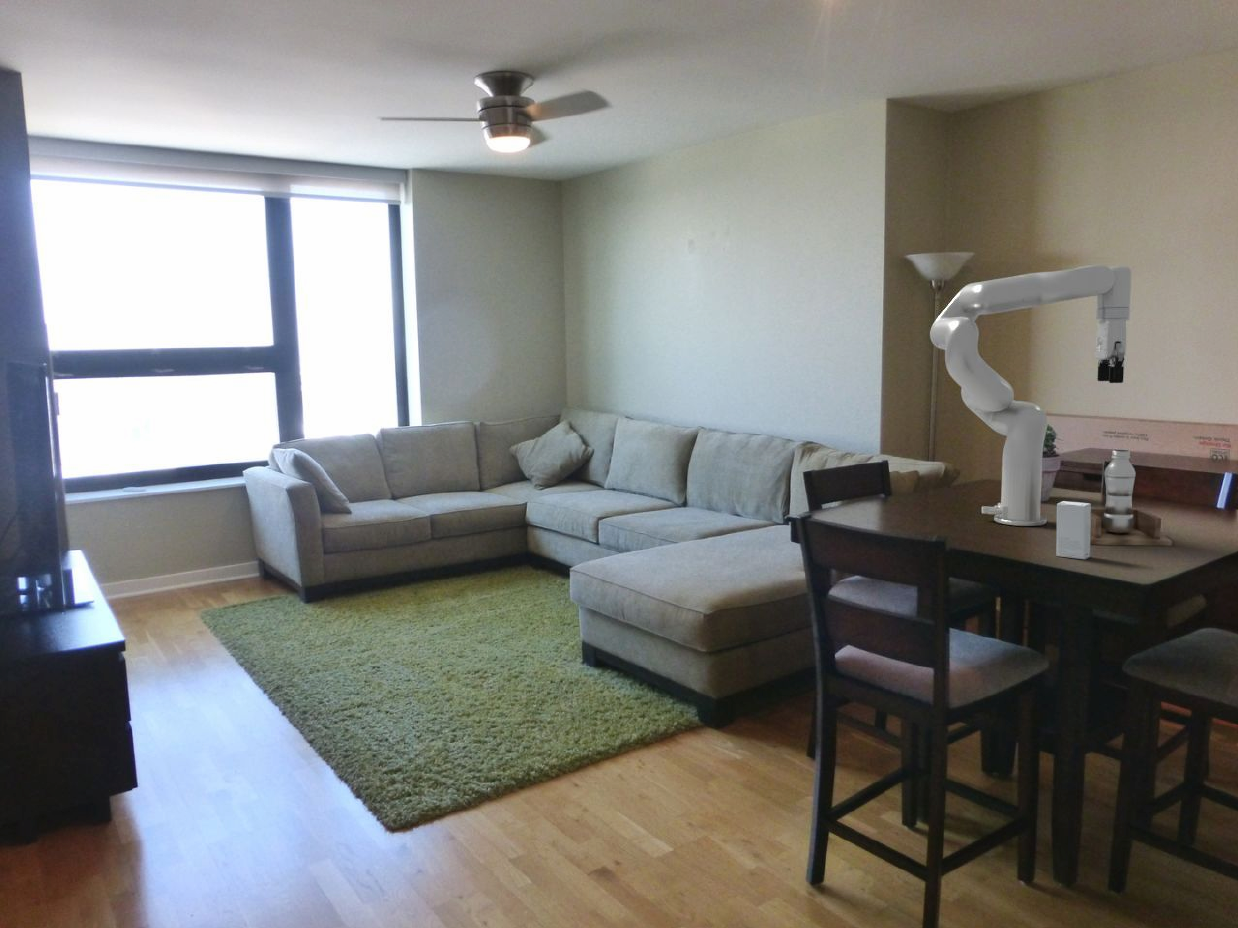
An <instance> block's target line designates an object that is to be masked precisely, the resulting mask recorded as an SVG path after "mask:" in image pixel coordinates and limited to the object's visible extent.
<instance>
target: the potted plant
mask: <svg viewBox="0 0 1238 928" xmlns="http://www.w3.org/2000/svg"><path fill="white" fill-rule="evenodd" d="M1052 431H1053V427H1052V426H1051V425H1050V424H1049V423H1047V430H1046V434H1045V438H1044V444H1043V453H1042V479H1041V502H1047V501H1048V500H1049V499H1050V497H1051V494H1052V490H1053V487H1054V483H1055V478H1056V475H1057V472H1058V471H1059V470H1060V469H1061V463H1062V456H1061V455H1060V452H1059V451H1057V450H1055V449H1058V450H1061V451H1063V450H1062V449H1061V448H1059V447H1057V445H1056V444H1054V443H1060V444H1063V445H1065V443H1062V442H1059V441H1064V440H1062V439H1060V438H1058V437H1057V436H1056V434H1055V433H1052ZM1057 435H1059V436H1060V434H1058V433H1057ZM1002 436H1005V435H1003V434H1001V437H1002ZM1056 440H1059V441H1056ZM1070 444H1071V443H1070ZM1071 445H1073V444H1071ZM1062 454H1064V455H1065V453H1062Z"/></svg>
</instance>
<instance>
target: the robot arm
mask: <svg viewBox="0 0 1238 928" xmlns="http://www.w3.org/2000/svg"><path fill="white" fill-rule="evenodd" d="M1131 288H1132V269H1131V268H1130V267H1129V266H1126V265H1115V266H1112V265H1111V266H1107V265H1105V264H1093V265H1090V264H1089V265H1085V266H1079V267H1076V268H1071V269H1064V270H1056V271H1042V272H1031V273H1025V274H1020V275H1014V276H1007V277H1002V278H996V279H995V278H994V279H991V280H984V281H979V282H972V283H968V284H966V285H964V287H962V288H961V289H960V290H959V292H958V293H957V294H956V295H955V296H954V297H953V298H952V300H951V301H950V302H949V303H948V305H946V307H945V309H944V310H943V311H942V312H941V313H940V315H938V317H937V318H936V319H935V320H934V322H933V324H932V325H931V328H930V330H929V331H930V332H929V338H930V340H931V343H932V344H933V345H934V346H935V347H936V348H938V349H940V350H944V360H945V367H946V370H947V372H948V375H949V376H950V378H952V379H953V380H954V382H956V384H957V385H958V386H959V387H961V389H960V393H961V394H960V395H961V398H962V401H963V403H964V404H965V406H966V407H967V408H968V409H969V410H970V411H972V412H973V414H974V415H976V417H978V418H979V419H981V421H983V423H985V424H986V425H987V426H988V427H989V428H991V429H992V430H993V431H994V432H996V433H998V434H1000V435H1004V436H1006V438H1005V443H1004V446H1003V450H1002V465H1001V466H1002V467H1001V490H1000V491H1001V493H1000V494H1001V498H1000V502H998V503H997V505H996V504H995V505H994V506H989V505H988V506H986V505H985V506H982V505H981V514H988V515H994V516H993V520H994V521H995V523H999V524H1003V525H1008V526H1017V527H1018V526H1019V527H1035V526H1036V527H1037V526H1044V525H1045V524H1047V518H1046V517H1044V516H1042V515H1041V502H1042V501H1041V479H1042V453H1043V444H1044V438H1045V434H1046V430H1047V425H1048V418H1047V414H1046V412H1045V411H1044V409H1043V408H1041V407H1040V406H1039V405H1037V404H1036V403H1033V402H1029V401H1023V400H1015V399H1014V398H1015V393H1014V392H1015V391H1014V389H1013V387H1012V386H1011V384H1010V383H1009V382H1008V381H1007V380H1006V379H1005V378H1004V377H1002V376H1001V375H1000V374H999V373H998V372H997V371H996V370H995V369H993V368H992V367H991V366H990V365H988V364H987V362H986V361H985V360H984V359H983V358H982V357H981V356H980V353H979V350H978V344H979V343H978V342H979V336H980V333H979V328H978V325H977V323H976V322H975V321H976V320H977V319H978V317H979V316H983V315H992V314H998V313H999V314H1000V313H1004V312H1005V313H1006V312H1011V311H1015V310H1022V309H1028V308H1029V309H1030V308H1034V307H1040V306H1042V307H1043V306H1046V305H1050V304H1055V303H1059V302H1064V301H1065V302H1066V301H1070V300H1077V299H1083V298H1089V297H1095V296H1096V297H1097V298H1096V318H1095V319H1096V321H1095V322H1098V323H1097V328H1096V329H1097V330H1096V336H1095V347H1094V358H1095V359H1096V360H1098V363H1097V381H1098V382H1108V383H1109V384H1123V383H1124V375H1125V374H1124V371H1125V356H1126V352H1127V351H1126V349H1127V323H1126V321H1130V314H1131V313H1130V311H1131V293H1132V292H1131V290H1132V289H1131Z"/></svg>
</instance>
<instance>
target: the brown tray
mask: <svg viewBox="0 0 1238 928" xmlns="http://www.w3.org/2000/svg"><path fill="white" fill-rule="evenodd" d="M1104 513H1105V508H1103V507H1101V508H1099V507H1091V525H1090V545H1097V546H1098V545H1101V546H1102V545H1103V546H1105V545H1106V546H1108V545H1109V546H1110V545H1112V546H1113V545H1114V546H1156V547H1157V546H1159V547H1163V546H1165V547H1166V546H1167V547H1170V546H1171V547H1172V544H1173V541H1172V539H1169V538H1168V537H1166V536H1164V535H1162V534H1161V526H1162V518H1160V517H1158V516H1156V515H1155V514H1152V513H1150V512H1147V511H1146V510H1143V509H1142V508H1132V514H1133V518H1134V526H1133V529H1132V531H1131V532H1129V533H1121V534H1116V533H1112V532H1108V531H1106V530H1105V529H1104V527H1103V522H1102V521H1103V516H1104Z"/></svg>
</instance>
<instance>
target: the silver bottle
mask: <svg viewBox="0 0 1238 928" xmlns="http://www.w3.org/2000/svg"><path fill="white" fill-rule="evenodd" d="M1130 455H1131V451H1130V450H1128V449H1112V451H1111V459H1112V461H1110V462H1109V464H1107V466H1106V467H1105V470H1104V482H1105V493H1106V494H1105V496H1106V497H1105V498H1106V499H1105V513H1104V516H1103V521H1102V522H1103V527H1104V529H1105V530H1106V531H1108V532H1112V533H1116V534H1121V533H1129V532H1131V531H1132V529H1133V526H1134V518H1133V514H1132V509H1133V501H1132V500H1133V497H1132V496H1133V489H1134V486H1135V485H1134V484H1135V479H1136V478H1135V477H1136V474H1137V473H1136V471H1135V468H1134V466H1133V465H1132V463H1131V462H1130V460H1129V459H1131V456H1130Z"/></svg>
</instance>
